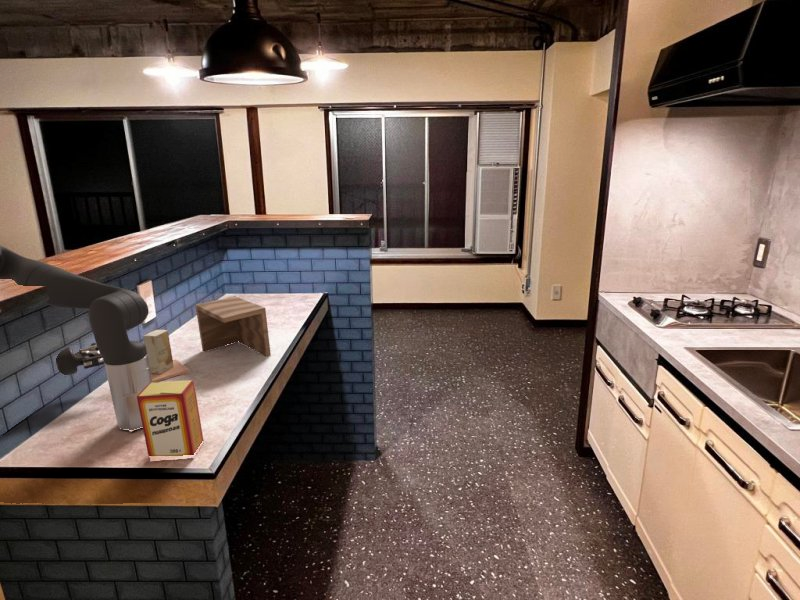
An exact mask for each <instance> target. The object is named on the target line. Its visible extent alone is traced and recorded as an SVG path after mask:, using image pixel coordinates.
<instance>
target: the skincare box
mask: <svg viewBox="0 0 800 600" xmlns="http://www.w3.org/2000/svg"><path fill="white" fill-rule="evenodd" d="M142 338H143V339H142V340H143V343H144V344H145V346H146V350H147V355H148V361H149V366H150V372H151V373H156V374H162V373H163V372H165V371H167V370H169V369H170V368H172V367H174V365H173V360H174V359H173V354H172V347H171V341H170V335H169V330H168V329H155V330H152V331H150V332H148V333H147V334H144V335H142Z"/></svg>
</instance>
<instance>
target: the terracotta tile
mask: <svg viewBox="0 0 800 600" xmlns="http://www.w3.org/2000/svg"><path fill="white" fill-rule="evenodd" d="M173 365H174V367H172V368H170V369H169V370H167V371H165V372H163V373H162V374H156V373H151V377H152V382H153V383H155V382H162V381H165V380H167V379H172V378H174V376H175V377H177V375H178V376H182V375H184V374H188V373H190V371H191V370H190V368H188V367H187V366H186V365H184V364H183V363H181V362H180V361H178V360H177V359H173Z"/></svg>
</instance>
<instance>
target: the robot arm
mask: <svg viewBox="0 0 800 600" xmlns="http://www.w3.org/2000/svg"><path fill="white" fill-rule="evenodd" d="M0 279H12V280H14V281H15V282H16V283H17V284H18V285H23V286H46V287H47V293H48V297H49V300H48V301H47V302H45V303H43V304H44V305H48V306H51V307H55V308H56V307H57V308H58V307H59V308H67V309H68V308H69V309H87V310H88V317H89V318H88V319H89V323H90V327H91V330H92V333H93V336H94V341H95V342H92V343H90V344H91V345H90V346H88V347H86V348H82V349H79V352H77V353H75V354H73V348H71V347H70V346H67V348H66V347H64V348H65V349H64V350H62V351H61V352H60V353H59V354H58V356H57V358H56V366H57V369H58V370H59V372H61V373H62V374H64V375H68V376H71V375H74V374H77V373H78V367H81V366H83V368H84V370H86V369H90V368H94V367H98V366H102V365H104V368H105V372H106V377H107V382H108V386H109V393H110V396H111V401H112V405H113V410H114V414H115V418H116V419H115V420H116V424H117V427H119V428H121V429H129V430H134V429H137V428H140V427H143V426H142V421H141V416H140V411H139V406H138V401H137V395H138V394H139V393H140V392H141V391H142V390H143V389H144V388H145V387H146V386H147V385H148V384H149V383H153V382H152V377H151V372H150V366H149V361H148V355H147V350H146V346H145V344H144V342H142V341H138V340H130V339H129V335H128V330H130V329H133V328H135V327H137V326H139V325H141V324H142V323H143V322H144V321H145V320H146V319H147V318H148V316H149V312H150V311H149V305H148V304H147V302H146V301H145V299H144V298H143V297H142V296H141V295H140V294H138V293H136V292H134V291H133V290H130V289H126V288H122V287H118V286H114V285H110V284H106V283H103V282H98V281H96V280H92V279H90V278H87V277H85V276H82V275H79V274H77V273H73V272H70V271H69V270H66V269H64V268H60V267H58V266H55V265H52V264H50V263H46V262H43V261H39V260H37V259H31V258H27V257H25V256H22V255H20V254H19V253H17V252H14V251H12V250H11V249H8V248H7V247H5V246H3V245H1V244H0ZM119 428H118V429H119Z"/></svg>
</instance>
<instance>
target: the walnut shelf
mask: <svg viewBox="0 0 800 600" xmlns="http://www.w3.org/2000/svg"><path fill="white" fill-rule="evenodd" d="M195 310H196V311H195V312H196V317H197V325H198V331H199V337H200V344H201V349H202V352H203V353H204V352H209V351H212V349H213V350H216V349H219V348H218V347H220V348H223V347H226V346H225V345H227V344H230V345H232V344H231V343H234V342H237V343H239V342H240V343H239V344H241V343H242V345H243V344H244V345H243V346H245V345H246V347H247V346H248V347H247V348H249V347H250V348H249V349H251V350H253V351H254V352H257V353H258V352H259V354H260V355H263V356H265V357H266V358H268V357H270V356H271V357H272V353H271V345H270V338H269V328H268V320H267V319H268V318H267V311H266V307H264V306H262V305H259V304H256V303H253V302H251V301H248V300H246V299H244V298H241V297H239V296H229V297H225V298H220V299H217V300H215V299H214V300H212V301H207V302H203V303H197V304H195ZM238 341H239V342H238ZM234 344H235V343H234ZM222 346H223V347H222ZM227 346H228V345H227ZM215 348H216V349H215ZM208 350H209V351H208Z"/></svg>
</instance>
